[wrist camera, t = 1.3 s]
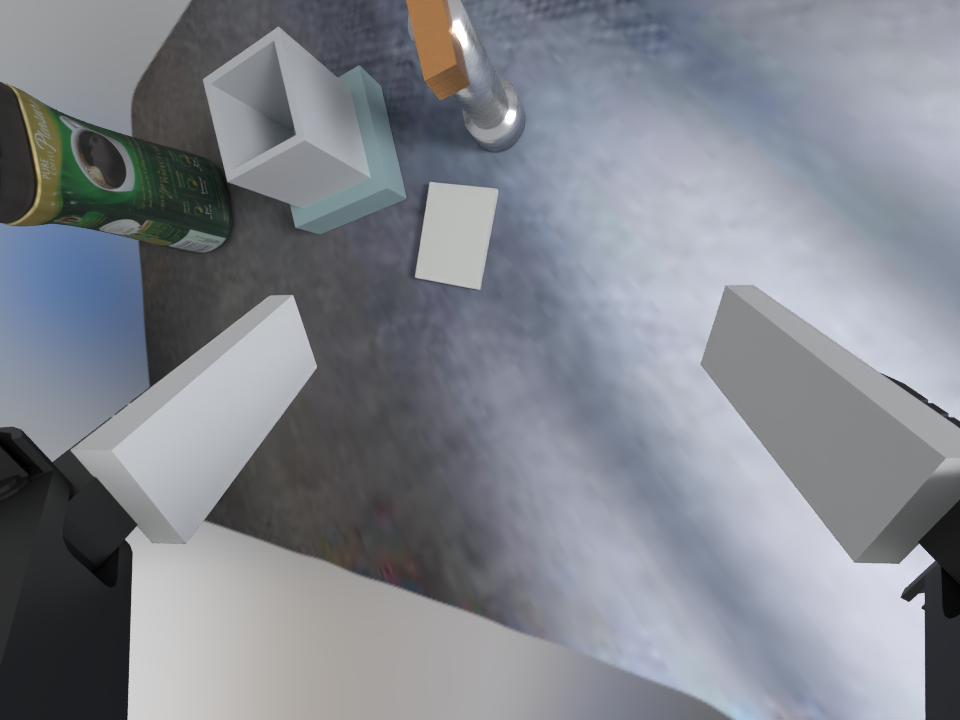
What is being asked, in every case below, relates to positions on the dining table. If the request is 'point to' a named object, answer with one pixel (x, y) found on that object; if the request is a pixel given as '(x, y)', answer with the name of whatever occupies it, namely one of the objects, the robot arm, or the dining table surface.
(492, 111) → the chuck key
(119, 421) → the robot arm
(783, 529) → the dining table surface
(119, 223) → the coffee jar
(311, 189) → the square tube
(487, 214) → the mat
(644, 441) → the dining table surface
